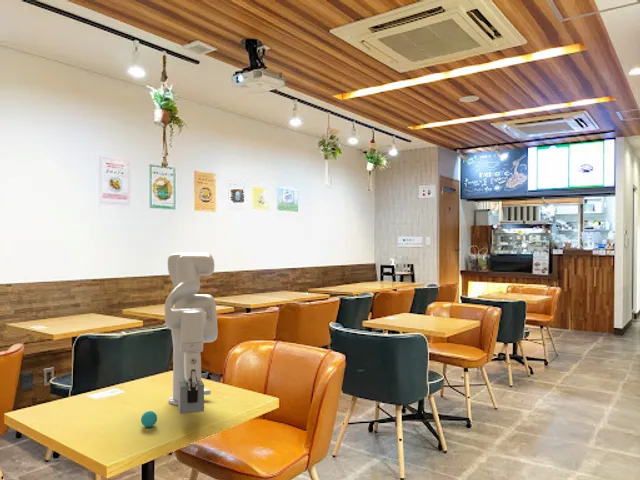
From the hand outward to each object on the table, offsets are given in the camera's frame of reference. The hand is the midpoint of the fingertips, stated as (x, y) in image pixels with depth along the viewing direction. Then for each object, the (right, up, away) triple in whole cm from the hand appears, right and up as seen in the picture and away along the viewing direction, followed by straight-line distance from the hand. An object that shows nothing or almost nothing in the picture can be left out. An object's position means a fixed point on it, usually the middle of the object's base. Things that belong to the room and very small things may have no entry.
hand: (191, 399), depth 166 cm
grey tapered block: (0, -4, 0) cm, 4 cm away
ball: (-13, -5, -4) cm, 14 cm away
